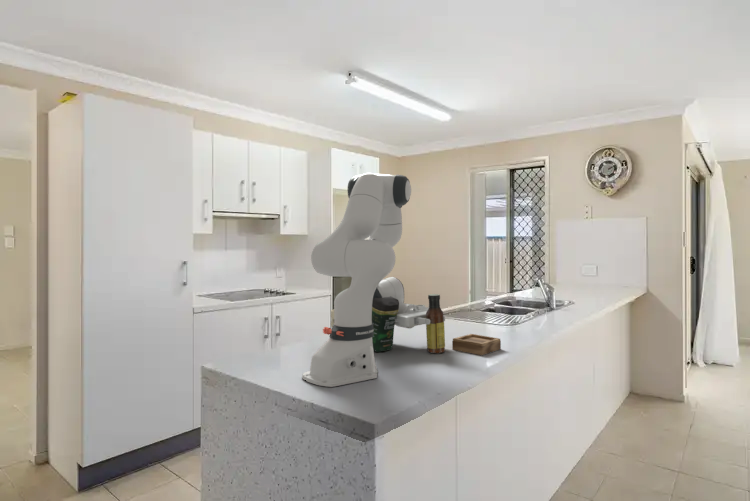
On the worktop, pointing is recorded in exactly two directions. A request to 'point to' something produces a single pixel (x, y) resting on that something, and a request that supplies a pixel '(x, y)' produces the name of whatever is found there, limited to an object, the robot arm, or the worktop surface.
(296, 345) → the worktop surface
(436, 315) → the sauce bottle
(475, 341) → the tray
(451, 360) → the worktop surface
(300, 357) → the worktop surface
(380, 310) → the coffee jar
